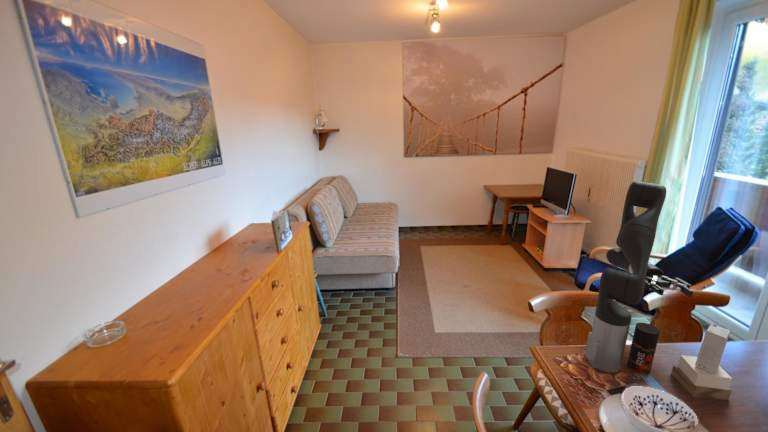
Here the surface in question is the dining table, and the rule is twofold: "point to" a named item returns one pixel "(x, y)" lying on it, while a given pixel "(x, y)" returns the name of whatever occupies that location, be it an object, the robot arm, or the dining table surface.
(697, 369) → the offwhite block
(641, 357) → the deodorant
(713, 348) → the skincare box
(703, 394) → the walnut block
